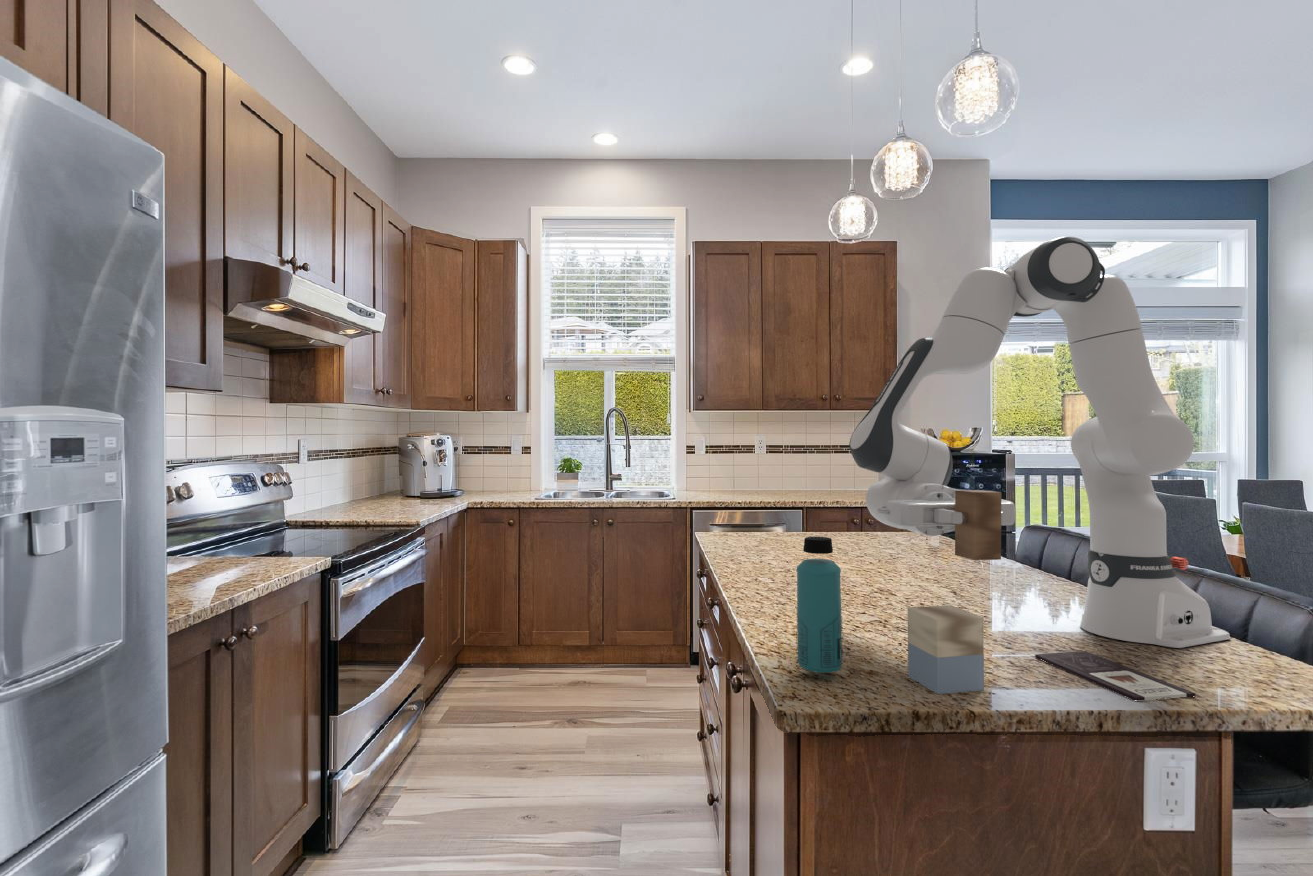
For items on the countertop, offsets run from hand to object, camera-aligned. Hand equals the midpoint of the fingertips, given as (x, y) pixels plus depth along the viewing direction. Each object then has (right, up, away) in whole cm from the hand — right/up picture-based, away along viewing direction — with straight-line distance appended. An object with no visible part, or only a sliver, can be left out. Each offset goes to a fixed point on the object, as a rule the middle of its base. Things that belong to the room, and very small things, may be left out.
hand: (981, 518), depth 99 cm
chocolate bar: (+16, -23, -4) cm, 28 cm away
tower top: (-9, -17, -7) cm, 21 cm away
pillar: (0, -6, +1) cm, 6 cm away
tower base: (-9, -22, -7) cm, 25 cm away
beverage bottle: (-25, -23, -4) cm, 34 cm away
